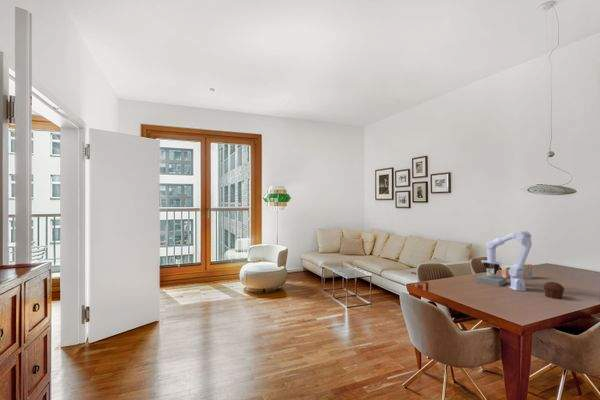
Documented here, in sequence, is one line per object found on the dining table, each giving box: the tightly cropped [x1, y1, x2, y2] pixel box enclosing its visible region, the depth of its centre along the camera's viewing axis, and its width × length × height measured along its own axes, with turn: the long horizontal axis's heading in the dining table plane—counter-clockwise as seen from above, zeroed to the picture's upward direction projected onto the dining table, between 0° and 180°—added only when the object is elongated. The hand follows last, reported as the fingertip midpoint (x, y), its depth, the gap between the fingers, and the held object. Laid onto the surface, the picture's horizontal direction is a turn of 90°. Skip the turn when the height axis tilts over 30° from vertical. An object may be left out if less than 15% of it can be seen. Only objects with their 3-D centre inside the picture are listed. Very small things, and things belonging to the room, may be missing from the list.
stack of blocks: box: [501, 262, 533, 279], centre depth 261 cm, size 21×6×12 cm, turn 87°
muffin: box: [543, 281, 565, 300], centre depth 209 cm, size 12×11×10 cm
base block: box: [476, 273, 508, 287], centre depth 246 cm, size 16×16×4 cm
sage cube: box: [486, 267, 497, 276], centre depth 245 cm, size 5×5×5 cm
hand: (491, 272), depth 246 cm, fingers closed on sage cube, 5 cm apart
